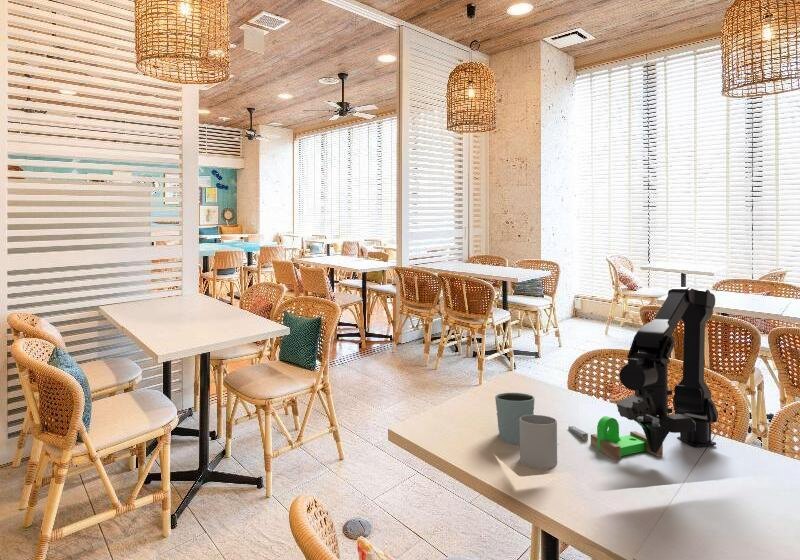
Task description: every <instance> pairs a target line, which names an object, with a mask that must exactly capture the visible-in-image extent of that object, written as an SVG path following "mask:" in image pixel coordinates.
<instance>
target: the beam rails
mask: <svg viewBox="0 0 800 560" xmlns="http://www.w3.org/2000/svg"><path fill="white" fill-rule="evenodd" d="M629 433H630V434H629V435H632V436H634V437H636V438H638V439H640V440H643V441H645V450H644V451H646V452H648V453H650V454H653V455H654V456H658V457H663V456H664V455H663V453H664V451H663V449H664V447H663V446H664V445H663V443H664V442H663V443H662V445H661V447H660V449H659V450H658V452H657V453H653V452H651V450H650V447H649V444H648V441H647V438H646V436H645V434H642V433H641V432H638V431H632V430H631V431H629ZM590 445H591V446H593V447H594V448H595V449H596V450H597V433H593V434H592V433H591V434H590ZM598 451H599V452H601V453H603V454H605V455H606V456H608V457H610V458H612V459H613V460H615V461H616V460H621V459H622V458H621V457H622V456H621V446H619V445H617V444H615V443H613V442H611V441H609V440H601V439H600V450H598Z"/></svg>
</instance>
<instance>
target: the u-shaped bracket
mask: <svg viewBox="0 0 800 560" xmlns="http://www.w3.org/2000/svg"><path fill="white" fill-rule="evenodd" d="M567 428H568V430H569V432H571V433H572V434H574V436H576V437H577V438H578V439H580V440H581V441H585V442H586V441H589V433H588V432H586V431H584V430H582V429H580V428H578V427H576V426H574V425H572V426H571V425H568V427H567Z"/></svg>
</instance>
